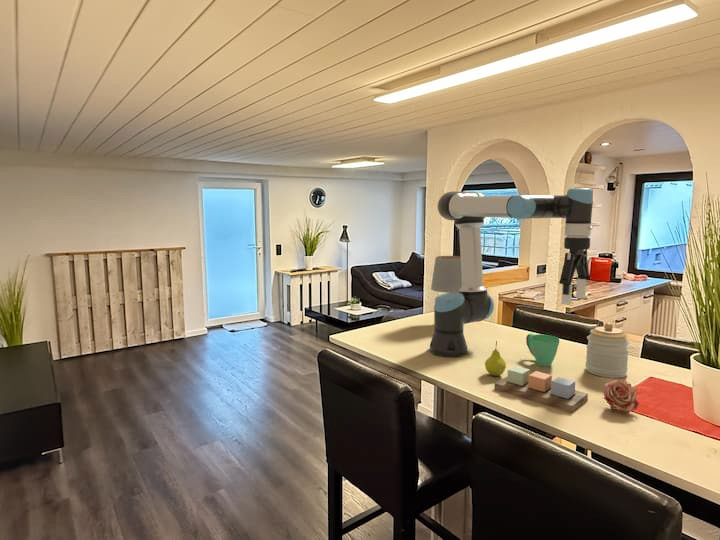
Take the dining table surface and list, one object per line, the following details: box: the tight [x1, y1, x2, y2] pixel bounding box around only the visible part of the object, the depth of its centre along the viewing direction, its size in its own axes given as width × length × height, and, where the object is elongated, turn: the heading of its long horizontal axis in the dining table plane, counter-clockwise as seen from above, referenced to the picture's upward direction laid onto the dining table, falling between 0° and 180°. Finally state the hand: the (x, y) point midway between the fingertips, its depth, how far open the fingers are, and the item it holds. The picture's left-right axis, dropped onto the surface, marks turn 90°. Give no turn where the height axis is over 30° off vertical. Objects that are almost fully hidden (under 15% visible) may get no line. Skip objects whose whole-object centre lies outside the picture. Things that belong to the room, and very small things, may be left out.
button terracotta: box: [528, 370, 553, 393], centre depth 137 cm, size 5×5×4 cm
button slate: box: [551, 376, 576, 400], centre depth 132 cm, size 5×5×4 cm
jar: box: [585, 322, 631, 379], centre depth 155 cm, size 13×13×18 cm
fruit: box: [484, 340, 507, 377], centre depth 153 cm, size 7×7×12 cm
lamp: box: [430, 255, 462, 293], centre depth 222 cm, size 19×19×34 cm
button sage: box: [506, 365, 531, 387], centre depth 142 cm, size 5×5×4 cm
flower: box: [602, 378, 640, 414], centre depth 127 cm, size 10×9×8 cm
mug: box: [525, 333, 560, 367], centre depth 167 cm, size 15×10×10 cm
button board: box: [494, 376, 589, 413], centre depth 138 cm, size 24×12×2 cm, turn 44°
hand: (573, 301), depth 147 cm, fingers open, 13 cm apart
